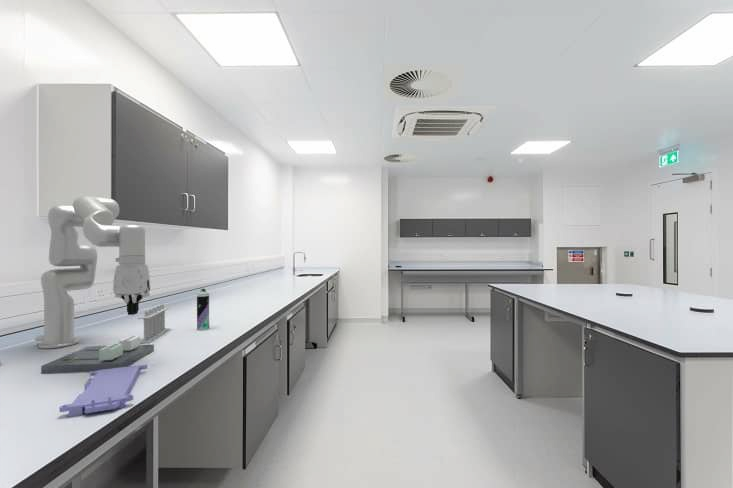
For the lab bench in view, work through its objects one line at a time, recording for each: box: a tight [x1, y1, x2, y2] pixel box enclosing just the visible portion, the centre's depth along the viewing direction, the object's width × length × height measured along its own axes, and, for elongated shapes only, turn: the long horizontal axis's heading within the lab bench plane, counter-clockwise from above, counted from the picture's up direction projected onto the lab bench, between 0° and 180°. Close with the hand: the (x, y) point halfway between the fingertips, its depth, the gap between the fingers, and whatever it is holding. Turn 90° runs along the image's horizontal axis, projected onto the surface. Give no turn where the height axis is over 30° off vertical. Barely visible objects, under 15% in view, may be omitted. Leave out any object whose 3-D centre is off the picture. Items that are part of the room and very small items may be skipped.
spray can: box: [196, 288, 210, 331], centre depth 174 cm, size 6×6×20 cm
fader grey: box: [118, 335, 141, 350], centre depth 132 cm, size 4×6×4 cm, turn 5°
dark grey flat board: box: [40, 343, 155, 375], centre depth 126 cm, size 24×22×3 cm
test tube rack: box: [137, 303, 171, 345], centre depth 160 cm, size 25×4×13 cm, turn 12°
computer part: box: [59, 364, 148, 418], centre depth 99 cm, size 30×4×15 cm
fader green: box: [99, 343, 123, 360], centre depth 121 cm, size 4×6×4 cm, turn 5°
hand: (132, 314), depth 122 cm, fingers closed
